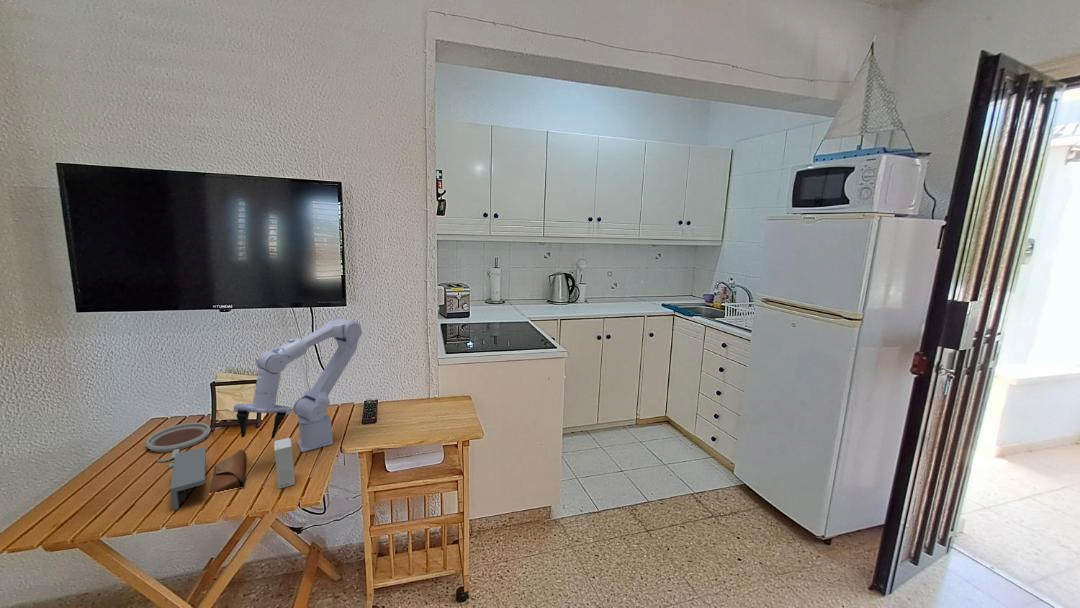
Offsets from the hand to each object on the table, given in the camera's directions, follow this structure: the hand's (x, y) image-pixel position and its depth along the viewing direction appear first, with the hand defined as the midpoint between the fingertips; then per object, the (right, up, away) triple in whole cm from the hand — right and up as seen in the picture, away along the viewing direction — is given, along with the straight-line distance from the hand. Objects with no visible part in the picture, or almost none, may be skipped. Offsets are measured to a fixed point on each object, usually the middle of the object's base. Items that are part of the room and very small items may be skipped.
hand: (258, 436), depth 129 cm
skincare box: (+11, -12, -5) cm, 17 cm away
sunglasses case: (-7, -11, -3) cm, 13 cm away
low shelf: (-13, -11, -8) cm, 19 cm away
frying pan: (-34, -8, +11) cm, 36 cm away
